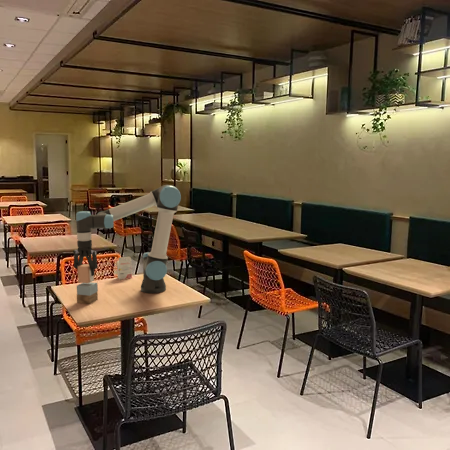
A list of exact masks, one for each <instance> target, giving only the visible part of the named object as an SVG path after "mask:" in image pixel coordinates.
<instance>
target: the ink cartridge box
mask: <svg viewBox="0 0 450 450" xmlns="http://www.w3.org/2000/svg"><path fill="white" fill-rule="evenodd" d="M131 258H132V257H131V256H123V257H122V256H121V257H118V260H116V268H117V271H116V272H117V278H118V280H124V279H125V278H127V279H132V278H133V277H132V276H133V273H132V269H133V268H132V259H131Z"/></svg>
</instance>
